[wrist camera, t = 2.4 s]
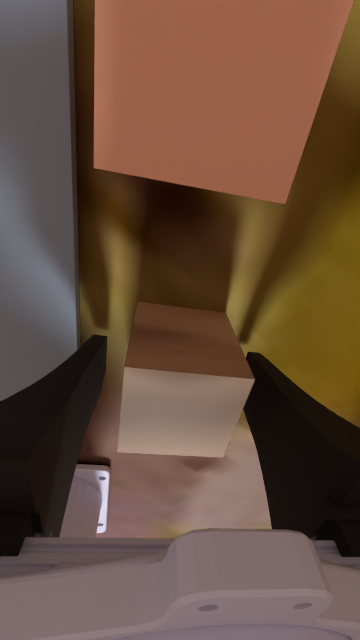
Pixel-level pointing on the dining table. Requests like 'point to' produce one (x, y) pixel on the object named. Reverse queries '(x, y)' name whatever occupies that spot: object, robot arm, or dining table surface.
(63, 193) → the board
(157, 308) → the walnut block
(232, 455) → the dining table surface
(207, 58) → the terracotta block
